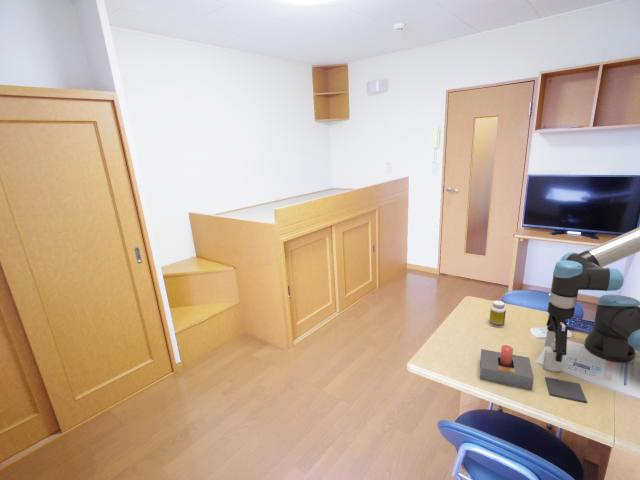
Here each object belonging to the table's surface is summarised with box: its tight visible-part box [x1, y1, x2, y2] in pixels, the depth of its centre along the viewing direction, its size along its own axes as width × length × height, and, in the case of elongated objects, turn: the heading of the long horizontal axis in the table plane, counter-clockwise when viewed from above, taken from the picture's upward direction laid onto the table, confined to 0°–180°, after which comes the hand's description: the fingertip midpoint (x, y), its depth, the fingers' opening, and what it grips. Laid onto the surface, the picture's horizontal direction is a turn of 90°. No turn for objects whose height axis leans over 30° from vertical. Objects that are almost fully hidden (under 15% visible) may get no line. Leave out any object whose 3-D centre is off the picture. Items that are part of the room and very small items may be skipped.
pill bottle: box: [488, 300, 507, 328], centre depth 154 cm, size 6×6×11 cm
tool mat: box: [544, 376, 588, 404], centre depth 113 cm, size 10×9×1 cm
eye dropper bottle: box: [542, 341, 565, 373], centre depth 122 cm, size 4×6×12 cm
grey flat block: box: [479, 348, 535, 391], centre depth 122 cm, size 16×12×5 cm
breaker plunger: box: [500, 345, 514, 367], centre depth 120 cm, size 4×4×6 cm
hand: (552, 356), depth 122 cm, fingers open, 13 cm apart
